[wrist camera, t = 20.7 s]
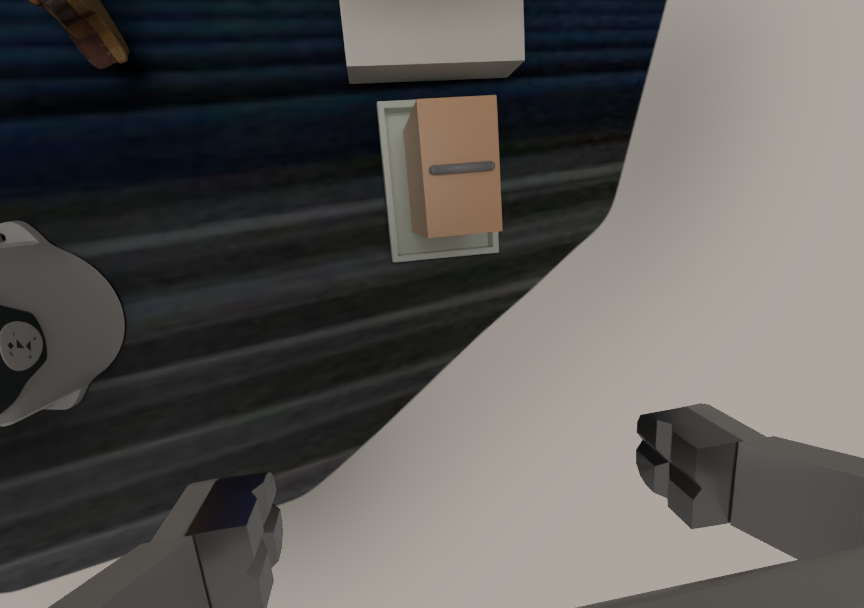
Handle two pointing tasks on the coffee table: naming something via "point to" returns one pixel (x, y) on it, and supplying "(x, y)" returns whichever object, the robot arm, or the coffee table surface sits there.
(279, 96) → the coffee table surface
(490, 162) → the brown handled box
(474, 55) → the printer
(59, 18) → the wooden carving
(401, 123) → the tray
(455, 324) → the coffee table surface
